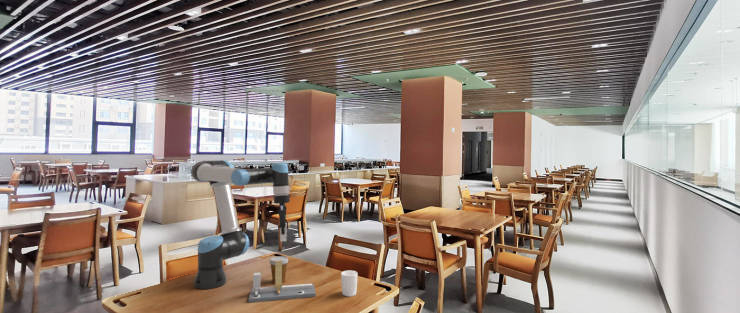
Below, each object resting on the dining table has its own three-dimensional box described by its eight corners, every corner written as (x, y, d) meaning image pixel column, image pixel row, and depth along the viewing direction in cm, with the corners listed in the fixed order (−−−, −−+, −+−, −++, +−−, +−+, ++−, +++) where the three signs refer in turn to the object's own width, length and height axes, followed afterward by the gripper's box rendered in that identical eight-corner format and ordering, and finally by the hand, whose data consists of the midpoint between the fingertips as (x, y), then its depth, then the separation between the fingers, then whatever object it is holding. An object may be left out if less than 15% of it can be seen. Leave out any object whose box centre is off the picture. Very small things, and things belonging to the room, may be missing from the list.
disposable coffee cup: (290, 278, 192) (290, 256, 192) (284, 285, 182) (284, 261, 182) (273, 277, 193) (273, 255, 193) (266, 284, 183) (266, 260, 183)
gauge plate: (248, 302, 161) (248, 280, 161) (250, 292, 173) (250, 271, 173) (315, 296, 168) (315, 275, 168) (313, 287, 180) (313, 267, 180)
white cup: (344, 298, 167) (345, 276, 167) (338, 292, 174) (338, 271, 174) (360, 295, 170) (360, 274, 170) (353, 289, 177) (353, 269, 177)
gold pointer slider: (275, 293, 166) (275, 265, 166) (275, 287, 173) (275, 260, 173) (281, 293, 167) (281, 265, 166) (281, 287, 174) (281, 260, 174)
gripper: (289, 195, 163) (291, 242, 163) (289, 192, 188) (291, 233, 187) (272, 197, 162) (274, 244, 161) (274, 193, 186) (276, 234, 185)
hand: (283, 238), depth 174 cm, fingers open, 13 cm apart
